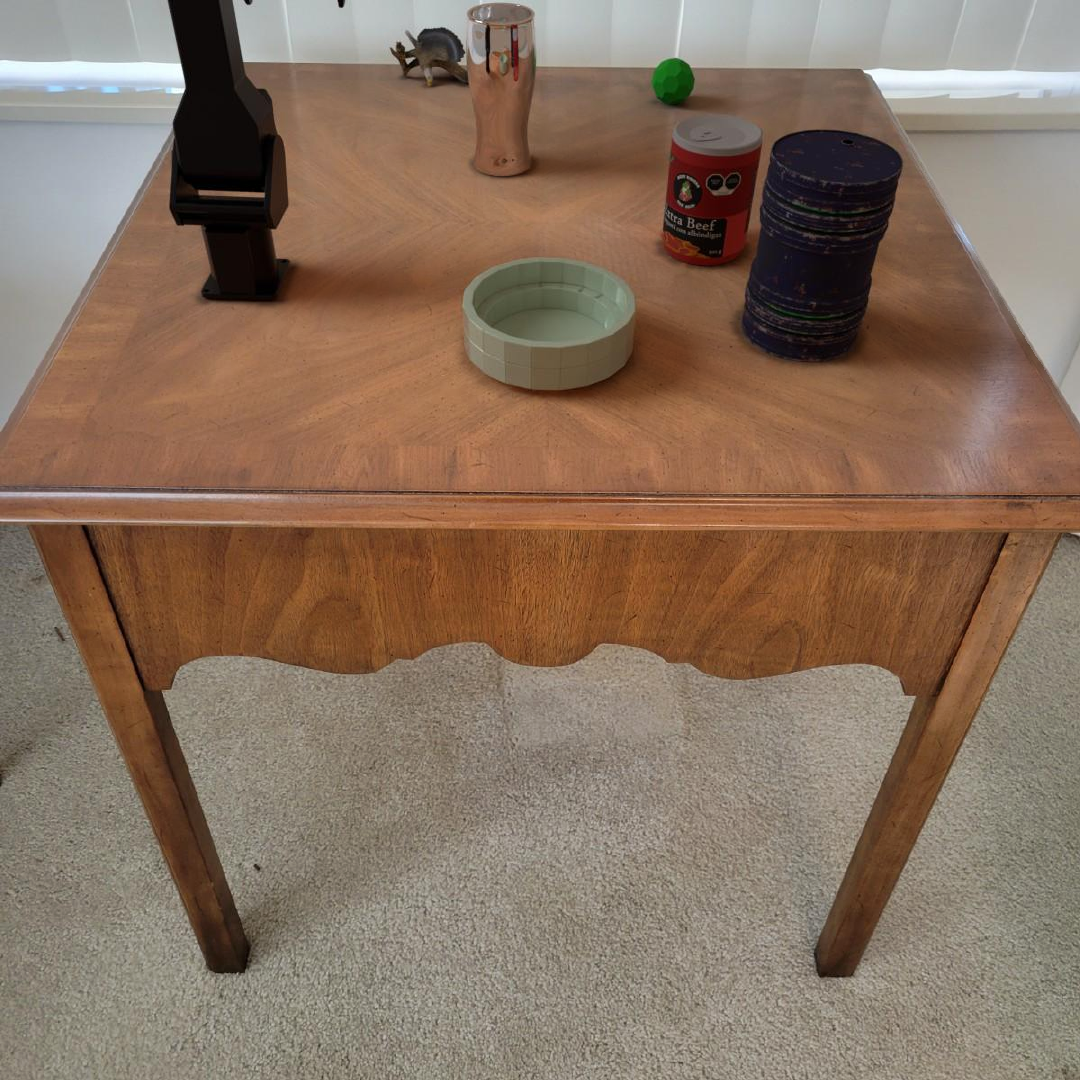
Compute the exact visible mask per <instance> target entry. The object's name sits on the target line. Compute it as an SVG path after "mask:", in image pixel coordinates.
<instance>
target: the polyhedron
mask: <svg viewBox="0 0 1080 1080" xmlns="http://www.w3.org/2000/svg"><path fill="white" fill-rule="evenodd" d="M651 78H652V79H651V86H652V88H653V91H654V94H655V96H656V98H657V99H658V100H660V101H661V102H662V103H665V104H667V105H669V106H671V105H678V104H681V103H683V102H685V101H686V100H687V99H688V98H689V96H690V95H691V94H692V91H693V90H694V87H695V82H696V81H695V80H696V78H695V76H694V73H693V70H692V67H691V65H690V64H689V63H688V62H686V61H685V60H684V59H681V58H678V57H672V58H667V59H665V60H663V61H661V62H660V63H659V64H658V65H657V66H656V67H655V68H654V72H653V73H652V77H651Z"/></svg>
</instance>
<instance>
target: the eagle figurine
mask: <svg viewBox="0 0 1080 1080" xmlns="http://www.w3.org/2000/svg"><path fill="white" fill-rule="evenodd" d="M404 34H405V36H406V37H407V38H408V40H409V42H410V43H411V44H412V46H413V47H414V48H412V49H410V50H406V47H405V46H404V45H403V44H402V43H403V42H401V41H396V42H395V50H394V48H393V47H391V46H390V47H389V49H390V53H391V55H392V56H393V57H394V58H396V59H397V61H398V63H399V65H400V67H401V70H402V77H403V78H405V77H407V76H408V73H409V72H410V71H412V69H414V68H417V67H419V68H420V69H421V72H422V73H423V75H424V76H425V79H426V82H427V87H431V85H432V82H433V78H434V75H433V68H441V69H443V70H444V71H446V72H448V73H449V74H451V75H453V76H454V77H455V78H457V79H458V80H459V81H460V82H462V83H464V84H465V83H467V84H469V80H468V74H467V70H466V69H465V68H463V67H462V66H461V65H460V64H459V63H461V62H462V59H464V57H465V55H466V50H465V49H464V44H463V43H462V40H461V39H460V38H459V36H458V35H457V34H455V33H454V32H453V31H452V30H450V29H449V28H446V27H443V26H440V27H432V28H429V27H427V28H425V27H424V28H423V29H422V30H421V31H420V32H419V34H418V35H417V36H416V38H415V37H414V36H413V35H412V34H411V32H410V31H409V30H407V29H406V30H404ZM411 58H413V59H412V61H410V62H409V63H408V62H407V61H406V59H411Z"/></svg>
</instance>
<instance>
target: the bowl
mask: <svg viewBox="0 0 1080 1080" xmlns="http://www.w3.org/2000/svg"><path fill="white" fill-rule="evenodd" d="M463 292H464V293H463V297H462V303H461V304H462V305H461V307H462V325H463V326H462V330H463V331H462V332H463V346H464V349H465V352H466V353H467V356H468V359H469V361H470V362H471V363H472V364H474V366H476V367H477V368H478V369H479V370H480V371H481V372H482V373H484V375H486V376H489V377H491V378H492V379H495V380H497V381H499V382H500V383H503V384H506V385H510V386H515V387H519V388H523V389H528V390H538V391H563V390H571V389H578V388H583V387H584V388H585V387H588V386H591V385H593V384H596V383H599V382H601V381H603V380H607V379H609V378H610V377H612V376H613V375H614V374H615V373H617V372H619V370H620V369H622V368H623V367H624V366H625V365H626V364H627V362H628V360H629V358H630V357H631V355H632V353H633V350H634V349H633V348H634V337H635V326H636V314H637V301H636V295H635V293H634V291H633V289H632V288H631V286H630V285H629V284H628V282H627V281H626V280H624V279H623V278H621V276H619V275H618V274H616V273H615V272H613V271H612V270H610V269H607V268H605V267H603V266H599V265H597V264H594V263H592V262H589V261H582V260H579V259H573V258H567V257H553V256H552V257H550V256H535V257H528V258H520V259H514V260H510V261H507V262H504V263H501V264H498V265H494V266H492V267H489V268H488V269H487V270H485V271H483V272H481V273H479V274H478V275H477V276H475V277H474V278H473V279H472V280H471V282H470V283H469V285H467V287H466V288H465V289H464V291H463Z"/></svg>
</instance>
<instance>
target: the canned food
mask: <svg viewBox="0 0 1080 1080" xmlns="http://www.w3.org/2000/svg"><path fill="white" fill-rule="evenodd" d="M763 136H764V132H763V130H762V128H761V127H760V126H759V125H758V124H756V123H754V122H753V121H750V120H749V119H746V118H742V117H738V116H735V115H729V114H721V113H720V114H717V113H712V114H711V113H710V114H709V113H707V114H706V113H705V114H699V115H693V116H689V117H686V118H684V119H682V120H679V121H678V122H677V123H676V124H675V125H674V126H673V131H672V136H671V146H670V152H669V154H670V155H669V162H668V163H669V164H668V173H667V183H666V194H665V204H664V213H663V223H662V224H663V226H662V231H661V232H662V233H661V239H662V244H663V248H664V250H665V252H666V253H667V254H668V255H669V256H671V257H672V258H674V259H675V260H677V261H680V262H683V263H686V264H689V265H697V266H715V265H716V266H717V265H722V264H727V263H728V262H731V261H733V260H734V259H736V258H738V257H739V256H740V255H741V254H742V251H743V249H744V247H745V245H746V243H747V236H748V232H749V225H750V221H751V220H750V218H751V213H752V207H753V202H754V197H755V196H754V195H755V190H756V184H757V178H758V172H759V166H760V161H761V154H762V146H763V138H764V137H763Z"/></svg>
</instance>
